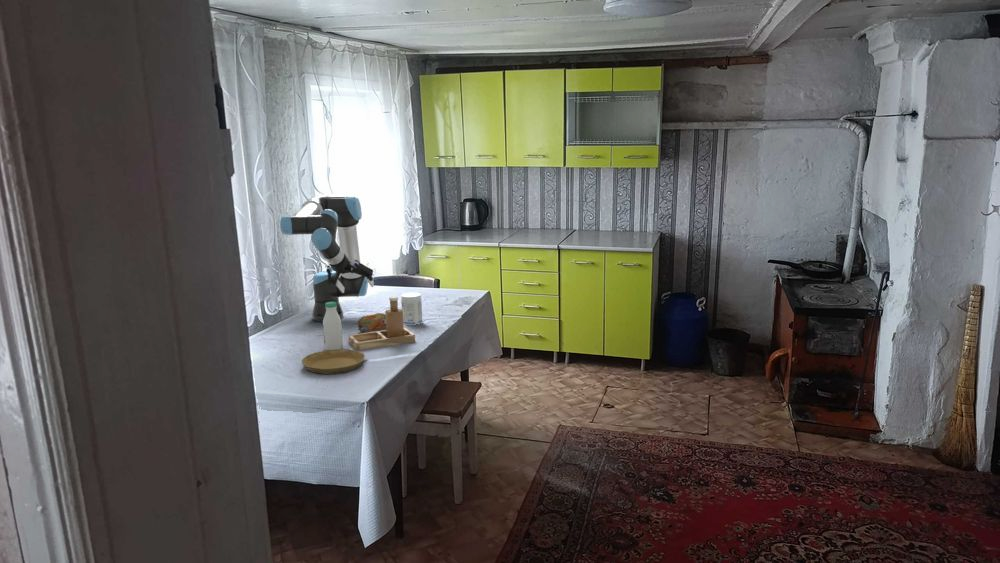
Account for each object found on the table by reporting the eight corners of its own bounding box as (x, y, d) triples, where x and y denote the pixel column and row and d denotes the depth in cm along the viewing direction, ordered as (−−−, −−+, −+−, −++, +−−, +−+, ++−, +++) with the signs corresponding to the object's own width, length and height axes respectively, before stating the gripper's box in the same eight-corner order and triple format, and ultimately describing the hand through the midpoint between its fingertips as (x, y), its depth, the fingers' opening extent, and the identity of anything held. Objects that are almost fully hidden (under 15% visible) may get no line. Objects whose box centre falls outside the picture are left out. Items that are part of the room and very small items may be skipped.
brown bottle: (384, 338, 295) (382, 296, 291) (401, 336, 298) (399, 294, 294) (389, 343, 288) (387, 300, 284) (406, 340, 291) (404, 298, 287)
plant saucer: (339, 352, 280) (339, 345, 280) (377, 364, 265) (377, 356, 265) (289, 367, 262) (289, 359, 262) (327, 381, 247) (326, 372, 247)
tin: (360, 335, 303) (359, 317, 301) (357, 334, 305) (356, 316, 304) (389, 329, 312) (388, 312, 311) (386, 328, 315) (385, 310, 313)
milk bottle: (346, 347, 287) (344, 301, 282) (333, 352, 280) (330, 305, 276) (333, 344, 290) (330, 299, 286) (320, 349, 284) (317, 303, 280)
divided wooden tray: (348, 344, 291) (348, 335, 290) (405, 335, 302) (404, 327, 301) (357, 352, 279) (356, 343, 278) (415, 343, 290) (414, 334, 289)
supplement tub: (415, 320, 327) (414, 291, 324) (426, 324, 320) (425, 294, 316) (398, 324, 321) (397, 294, 318) (409, 328, 314) (407, 297, 310)
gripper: (307, 271, 272) (330, 300, 289) (364, 259, 268) (384, 288, 284) (309, 257, 277) (332, 286, 293) (365, 244, 272) (385, 274, 289)
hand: (358, 287), depth 289 cm, fingers open, 13 cm apart
